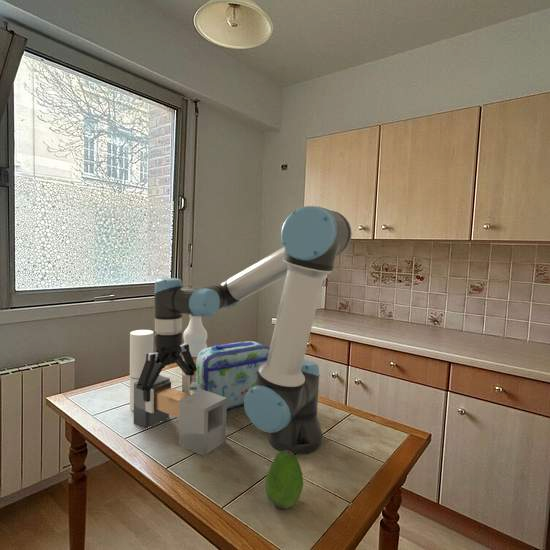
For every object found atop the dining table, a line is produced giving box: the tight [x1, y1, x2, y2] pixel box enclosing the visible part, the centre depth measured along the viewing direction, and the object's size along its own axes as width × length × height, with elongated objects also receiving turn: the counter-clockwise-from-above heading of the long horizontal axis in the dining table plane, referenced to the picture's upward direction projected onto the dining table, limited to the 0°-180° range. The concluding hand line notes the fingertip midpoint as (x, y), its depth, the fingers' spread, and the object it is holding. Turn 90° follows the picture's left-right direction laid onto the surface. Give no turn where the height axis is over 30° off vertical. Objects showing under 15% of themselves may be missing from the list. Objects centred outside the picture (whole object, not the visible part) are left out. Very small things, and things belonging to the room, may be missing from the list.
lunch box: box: [195, 340, 270, 410], centre depth 127 cm, size 26×11×21 cm, turn 123°
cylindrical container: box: [129, 329, 154, 412], centre depth 121 cm, size 7×7×25 cm
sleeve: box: [178, 390, 228, 457], centre depth 101 cm, size 9×9×13 cm
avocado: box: [264, 450, 304, 509], centre depth 79 cm, size 8×8×12 cm
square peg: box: [151, 380, 191, 419], centre depth 108 cm, size 21×7×7 cm, turn 57°
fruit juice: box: [181, 314, 208, 389], centre depth 143 cm, size 9×9×28 cm
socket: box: [133, 374, 171, 430], centre depth 113 cm, size 6×9×13 cm, turn 147°
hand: (168, 403), depth 109 cm, fingers open, 13 cm apart
